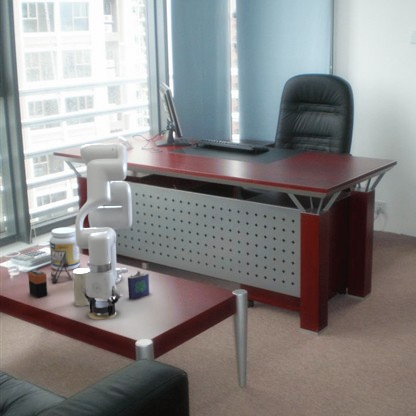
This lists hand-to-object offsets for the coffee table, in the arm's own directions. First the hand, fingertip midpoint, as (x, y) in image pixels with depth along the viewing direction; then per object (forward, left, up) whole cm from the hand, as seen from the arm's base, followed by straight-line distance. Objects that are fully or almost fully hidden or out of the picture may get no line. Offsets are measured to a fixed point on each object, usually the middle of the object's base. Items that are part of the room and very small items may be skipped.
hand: (102, 312), depth 246 cm
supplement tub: (-11, -61, -1) cm, 62 cm away
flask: (-19, -8, -1) cm, 21 cm away
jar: (+1, -15, -1) cm, 15 cm away
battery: (+11, -34, -1) cm, 36 cm away
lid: (0, 0, +3) cm, 3 cm away
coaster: (0, 0, -1) cm, 1 cm away
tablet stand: (-3, -46, -1) cm, 46 cm away
